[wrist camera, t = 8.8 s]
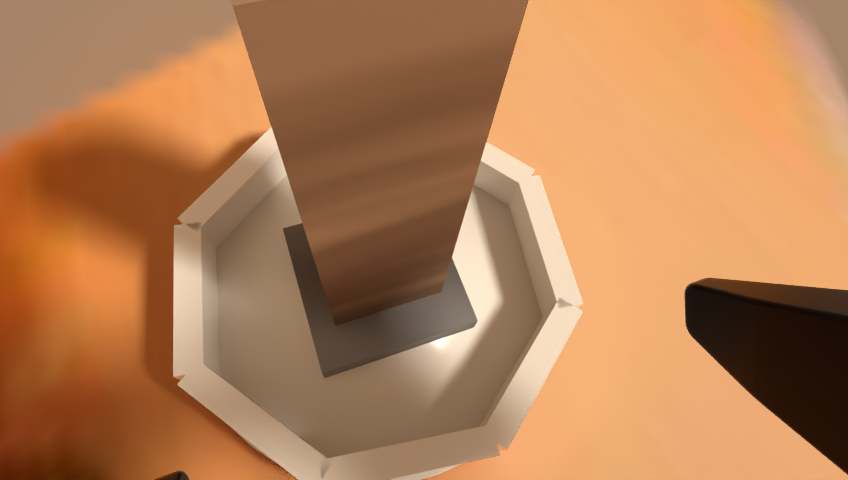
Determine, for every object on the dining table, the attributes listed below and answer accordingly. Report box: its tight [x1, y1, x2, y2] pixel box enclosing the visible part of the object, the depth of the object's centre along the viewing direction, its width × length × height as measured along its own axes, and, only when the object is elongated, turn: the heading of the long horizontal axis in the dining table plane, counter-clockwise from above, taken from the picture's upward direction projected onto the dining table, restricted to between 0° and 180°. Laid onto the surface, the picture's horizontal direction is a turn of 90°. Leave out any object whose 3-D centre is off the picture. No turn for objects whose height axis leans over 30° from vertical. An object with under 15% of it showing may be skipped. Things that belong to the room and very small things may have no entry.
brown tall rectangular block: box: [231, 0, 528, 378], centre depth 12 cm, size 5×5×12 cm
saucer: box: [173, 127, 583, 480], centre depth 17 cm, size 12×12×2 cm
